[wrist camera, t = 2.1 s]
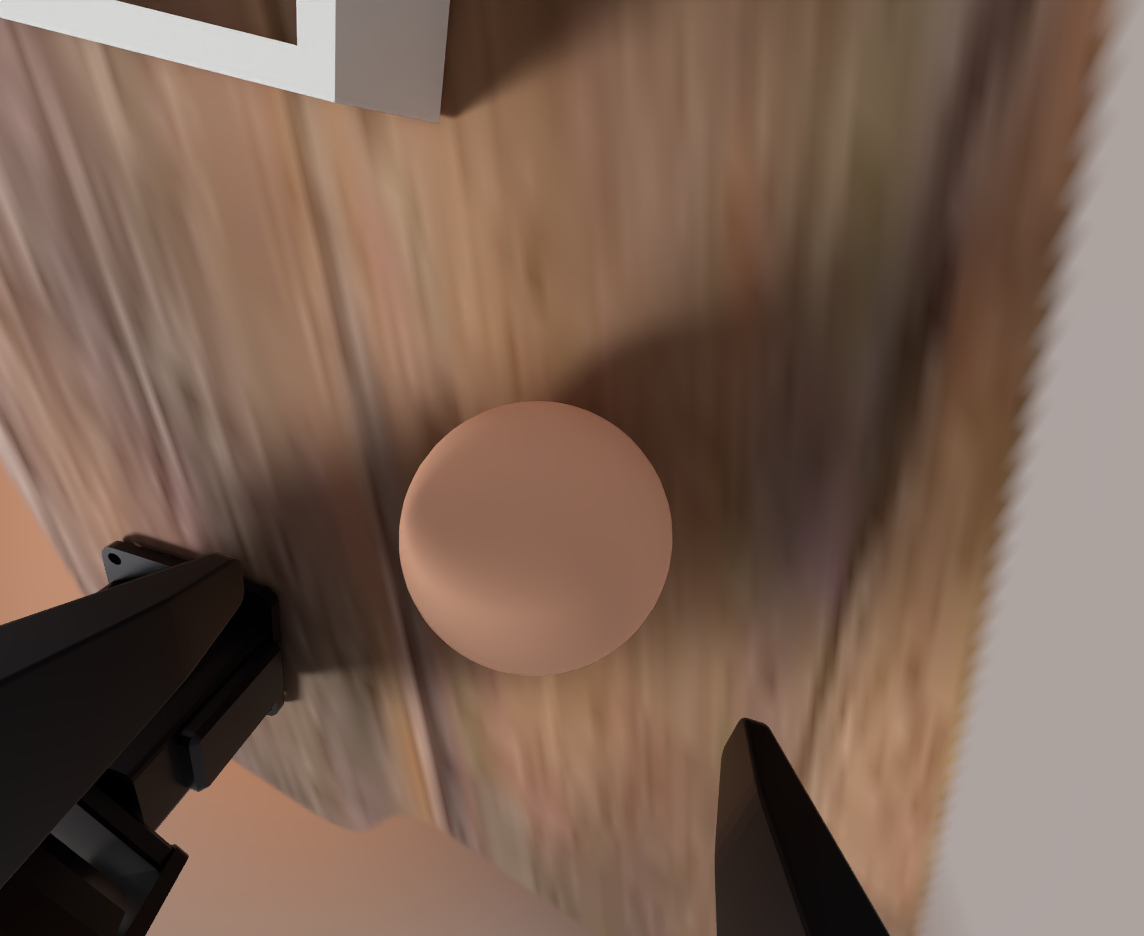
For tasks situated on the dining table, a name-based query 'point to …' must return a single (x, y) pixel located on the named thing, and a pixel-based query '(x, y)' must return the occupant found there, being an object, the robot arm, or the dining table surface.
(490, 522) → the ball
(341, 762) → the dining table surface
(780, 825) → the robot arm
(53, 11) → the walled pen
